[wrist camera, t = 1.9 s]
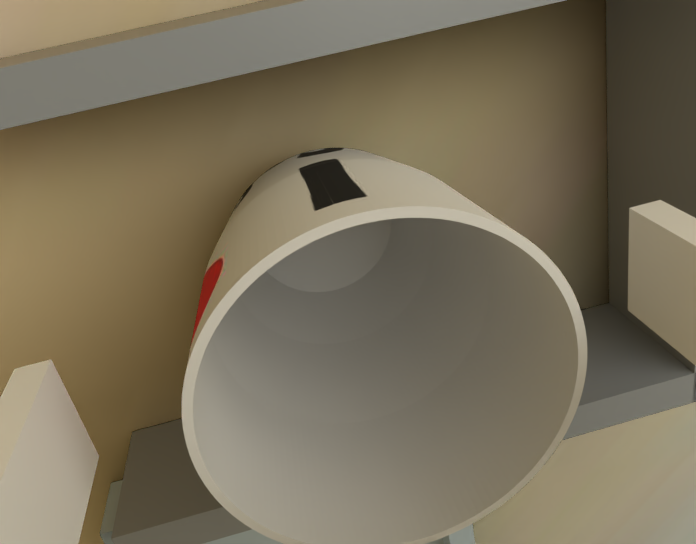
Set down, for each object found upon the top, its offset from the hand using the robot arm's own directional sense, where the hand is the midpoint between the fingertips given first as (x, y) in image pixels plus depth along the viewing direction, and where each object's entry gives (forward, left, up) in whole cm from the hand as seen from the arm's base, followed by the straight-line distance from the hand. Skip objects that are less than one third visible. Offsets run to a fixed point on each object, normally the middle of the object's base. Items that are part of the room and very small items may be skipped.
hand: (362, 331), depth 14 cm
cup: (0, 0, -8) cm, 8 cm away
